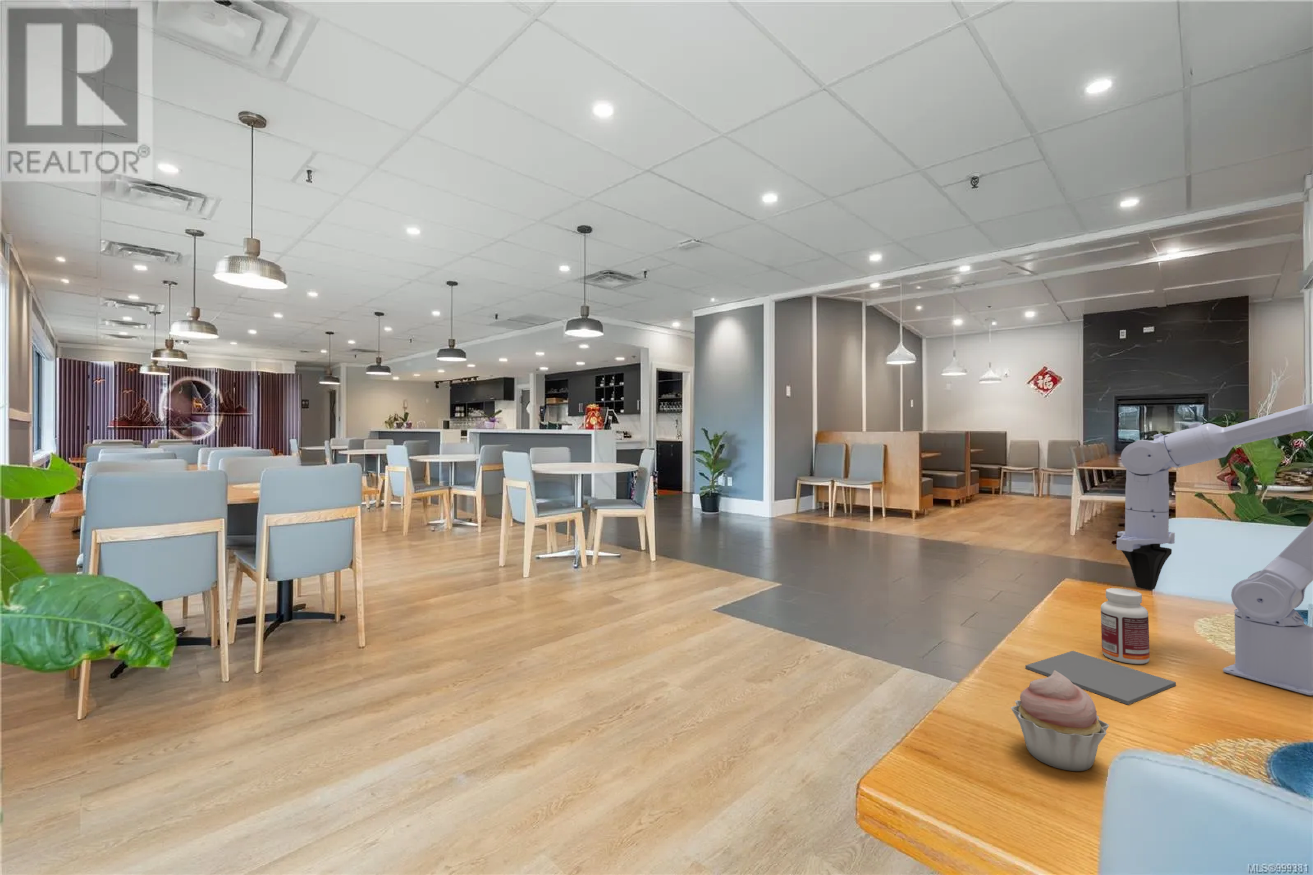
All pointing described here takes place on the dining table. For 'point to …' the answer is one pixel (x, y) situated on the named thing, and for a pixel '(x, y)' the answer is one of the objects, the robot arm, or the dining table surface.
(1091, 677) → the mat
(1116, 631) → the pill bottle
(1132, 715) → the dining table surface
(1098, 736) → the cupcake
